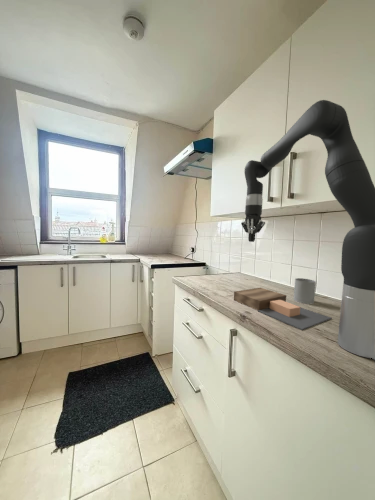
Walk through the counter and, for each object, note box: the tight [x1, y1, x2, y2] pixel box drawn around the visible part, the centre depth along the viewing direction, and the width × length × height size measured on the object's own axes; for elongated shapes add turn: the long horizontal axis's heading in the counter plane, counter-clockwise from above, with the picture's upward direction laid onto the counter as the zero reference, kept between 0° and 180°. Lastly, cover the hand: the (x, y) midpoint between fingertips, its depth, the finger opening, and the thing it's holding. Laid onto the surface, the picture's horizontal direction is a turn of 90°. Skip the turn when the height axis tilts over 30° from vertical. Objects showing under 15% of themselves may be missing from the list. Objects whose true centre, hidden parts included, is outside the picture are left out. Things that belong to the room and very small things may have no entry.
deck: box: [233, 287, 287, 311], centre depth 90 cm, size 14×18×4 cm
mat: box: [257, 306, 333, 331], centre depth 76 cm, size 17×20×1 cm
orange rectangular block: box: [270, 300, 301, 317], centre depth 78 cm, size 9×6×3 cm, turn 26°
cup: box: [293, 277, 317, 305], centre depth 94 cm, size 8×8×10 cm
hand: (251, 241), depth 95 cm, fingers closed
